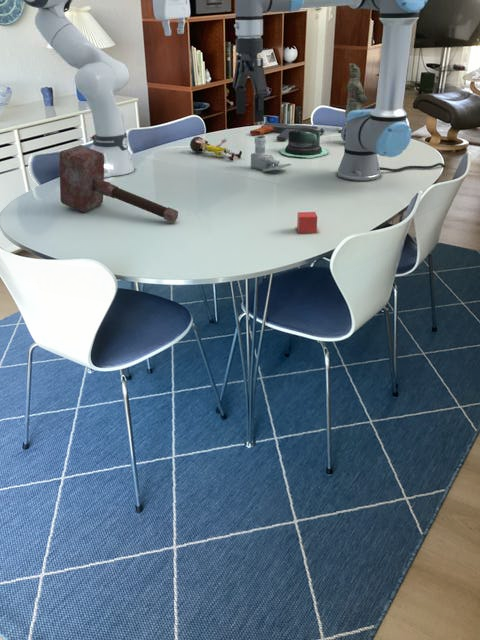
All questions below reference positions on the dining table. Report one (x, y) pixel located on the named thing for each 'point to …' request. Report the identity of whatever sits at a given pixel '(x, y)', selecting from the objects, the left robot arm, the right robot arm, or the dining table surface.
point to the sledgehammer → (96, 184)
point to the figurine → (212, 148)
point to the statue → (354, 91)
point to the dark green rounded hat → (304, 143)
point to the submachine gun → (280, 129)
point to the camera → (264, 157)
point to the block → (307, 222)
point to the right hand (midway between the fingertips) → (249, 117)
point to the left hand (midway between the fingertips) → (174, 34)
